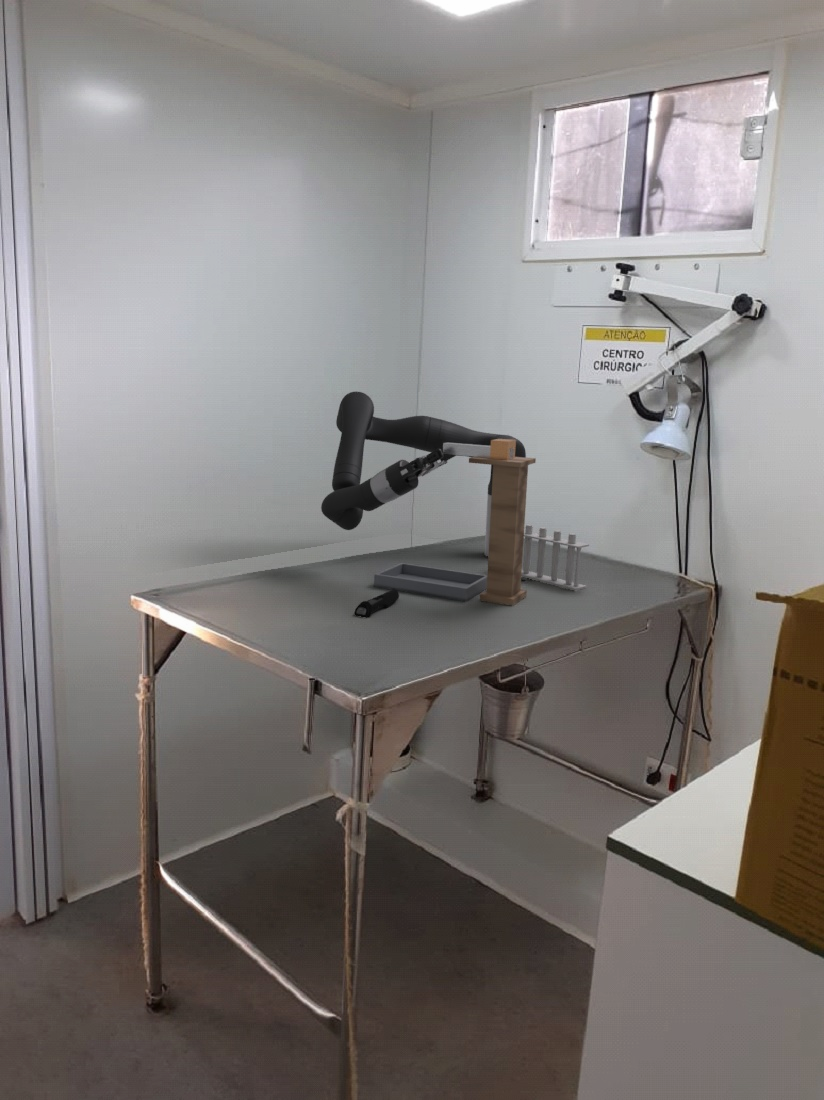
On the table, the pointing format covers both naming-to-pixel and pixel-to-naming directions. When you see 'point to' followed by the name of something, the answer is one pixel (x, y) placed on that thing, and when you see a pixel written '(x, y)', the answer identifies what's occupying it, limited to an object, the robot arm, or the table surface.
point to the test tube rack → (555, 558)
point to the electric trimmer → (376, 603)
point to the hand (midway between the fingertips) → (449, 451)
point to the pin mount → (506, 529)
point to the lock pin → (483, 449)
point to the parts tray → (431, 581)
